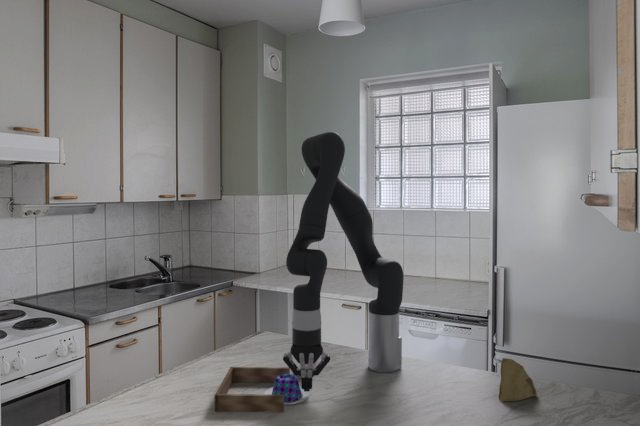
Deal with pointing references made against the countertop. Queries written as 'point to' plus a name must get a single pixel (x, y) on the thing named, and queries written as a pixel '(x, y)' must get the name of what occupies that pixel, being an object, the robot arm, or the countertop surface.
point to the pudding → (288, 389)
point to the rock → (515, 382)
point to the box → (250, 400)
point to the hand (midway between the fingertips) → (306, 390)
